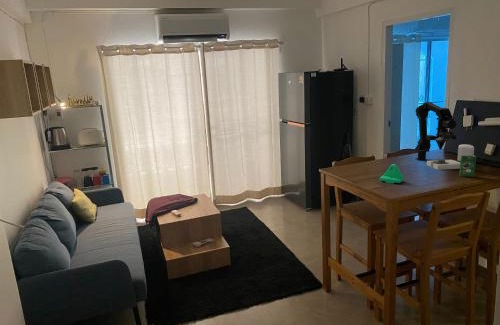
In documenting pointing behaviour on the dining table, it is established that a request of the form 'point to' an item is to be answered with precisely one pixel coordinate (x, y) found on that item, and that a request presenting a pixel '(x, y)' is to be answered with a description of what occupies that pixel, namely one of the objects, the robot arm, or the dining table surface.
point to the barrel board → (444, 165)
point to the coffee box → (467, 166)
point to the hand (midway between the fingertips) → (440, 149)
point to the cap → (440, 161)
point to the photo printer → (465, 150)
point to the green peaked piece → (392, 175)
